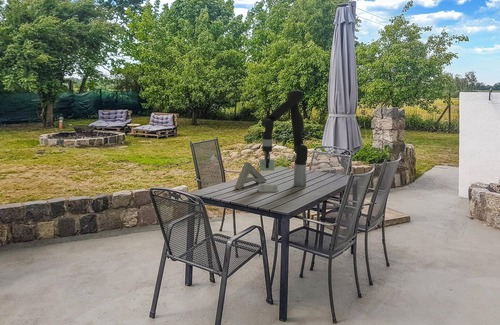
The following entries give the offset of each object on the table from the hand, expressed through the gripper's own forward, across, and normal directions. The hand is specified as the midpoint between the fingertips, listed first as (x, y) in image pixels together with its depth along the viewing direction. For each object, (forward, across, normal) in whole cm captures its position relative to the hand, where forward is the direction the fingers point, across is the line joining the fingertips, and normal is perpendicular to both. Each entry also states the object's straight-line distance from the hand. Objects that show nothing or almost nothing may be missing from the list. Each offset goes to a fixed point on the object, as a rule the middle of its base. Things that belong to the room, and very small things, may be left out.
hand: (266, 167), depth 290 cm
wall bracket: (+16, +9, +11) cm, 21 cm away
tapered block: (+2, 0, 0) cm, 2 cm away
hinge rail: (+16, -9, 0) cm, 18 cm away
